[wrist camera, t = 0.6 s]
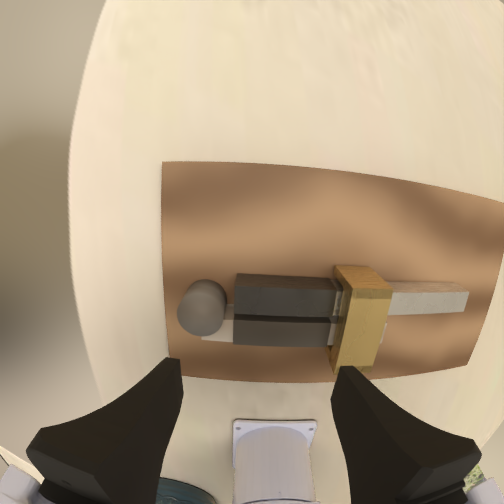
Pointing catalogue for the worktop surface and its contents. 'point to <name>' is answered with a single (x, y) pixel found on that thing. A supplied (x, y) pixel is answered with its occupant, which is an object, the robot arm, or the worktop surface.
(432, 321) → the tong board
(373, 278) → the wooden u-shaped block
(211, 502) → the canister
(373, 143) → the worktop surface
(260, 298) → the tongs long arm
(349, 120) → the worktop surface
